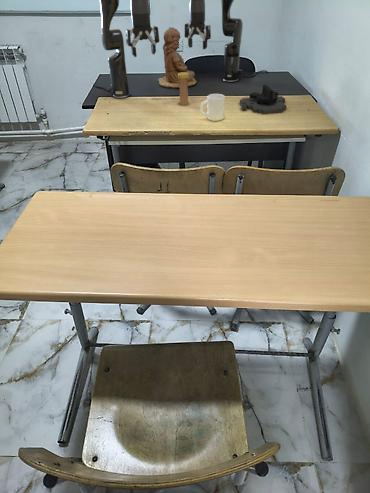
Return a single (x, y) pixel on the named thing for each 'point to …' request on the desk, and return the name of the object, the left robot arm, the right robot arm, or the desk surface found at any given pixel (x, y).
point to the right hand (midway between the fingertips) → (197, 48)
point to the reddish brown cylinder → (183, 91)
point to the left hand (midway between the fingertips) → (144, 55)
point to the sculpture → (173, 61)
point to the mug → (214, 107)
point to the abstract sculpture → (264, 101)
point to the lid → (183, 75)
